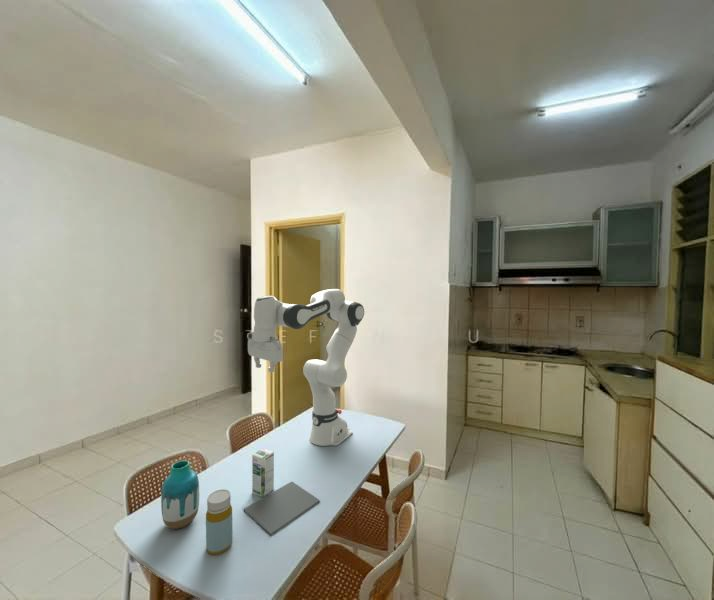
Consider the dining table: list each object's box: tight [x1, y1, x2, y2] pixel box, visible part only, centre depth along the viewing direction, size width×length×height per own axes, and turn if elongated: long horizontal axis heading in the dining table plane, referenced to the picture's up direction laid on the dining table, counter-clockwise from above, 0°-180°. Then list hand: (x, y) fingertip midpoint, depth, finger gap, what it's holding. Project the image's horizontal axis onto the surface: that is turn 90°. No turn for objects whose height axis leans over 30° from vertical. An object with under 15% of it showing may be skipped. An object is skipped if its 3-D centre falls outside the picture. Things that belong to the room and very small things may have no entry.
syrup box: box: [251, 448, 275, 498], centre depth 115 cm, size 6×6×14 cm
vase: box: [160, 459, 200, 530], centre depth 99 cm, size 11×11×19 cm
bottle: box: [205, 488, 234, 556], centre depth 91 cm, size 7×7×15 cm
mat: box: [243, 481, 321, 536], centre depth 107 cm, size 20×16×1 cm
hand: (264, 369), depth 127 cm, fingers open, 8 cm apart
